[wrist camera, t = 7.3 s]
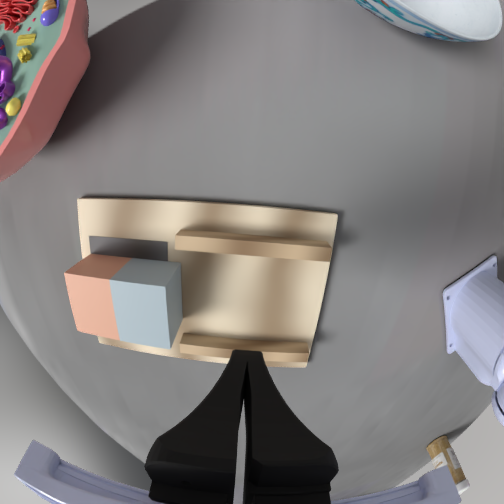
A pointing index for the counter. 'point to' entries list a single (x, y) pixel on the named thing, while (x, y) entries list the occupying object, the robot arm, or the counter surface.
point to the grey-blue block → (148, 302)
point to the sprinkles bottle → (448, 461)
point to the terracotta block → (94, 294)
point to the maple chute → (224, 271)
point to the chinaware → (441, 17)
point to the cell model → (37, 72)
